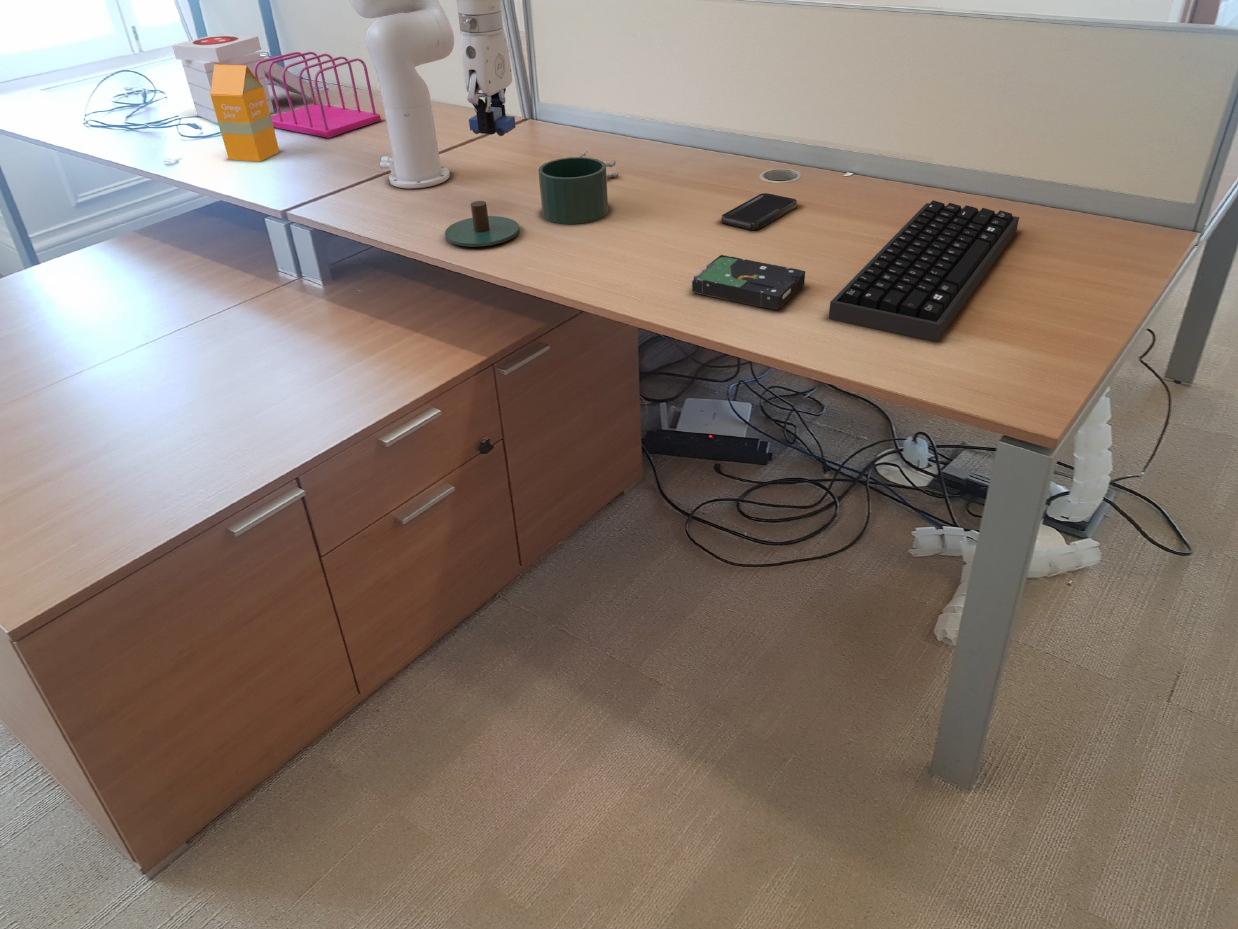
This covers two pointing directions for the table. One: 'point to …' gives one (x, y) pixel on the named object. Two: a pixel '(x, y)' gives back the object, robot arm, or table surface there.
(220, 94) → the orange juice
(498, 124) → the toy car
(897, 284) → the computer keyboard
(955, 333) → the table surface
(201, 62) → the pizza boxes
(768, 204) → the phone
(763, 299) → the disk drive
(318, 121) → the file sorter
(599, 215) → the tin
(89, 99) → the table surface
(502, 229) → the lid
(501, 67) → the robot arm
